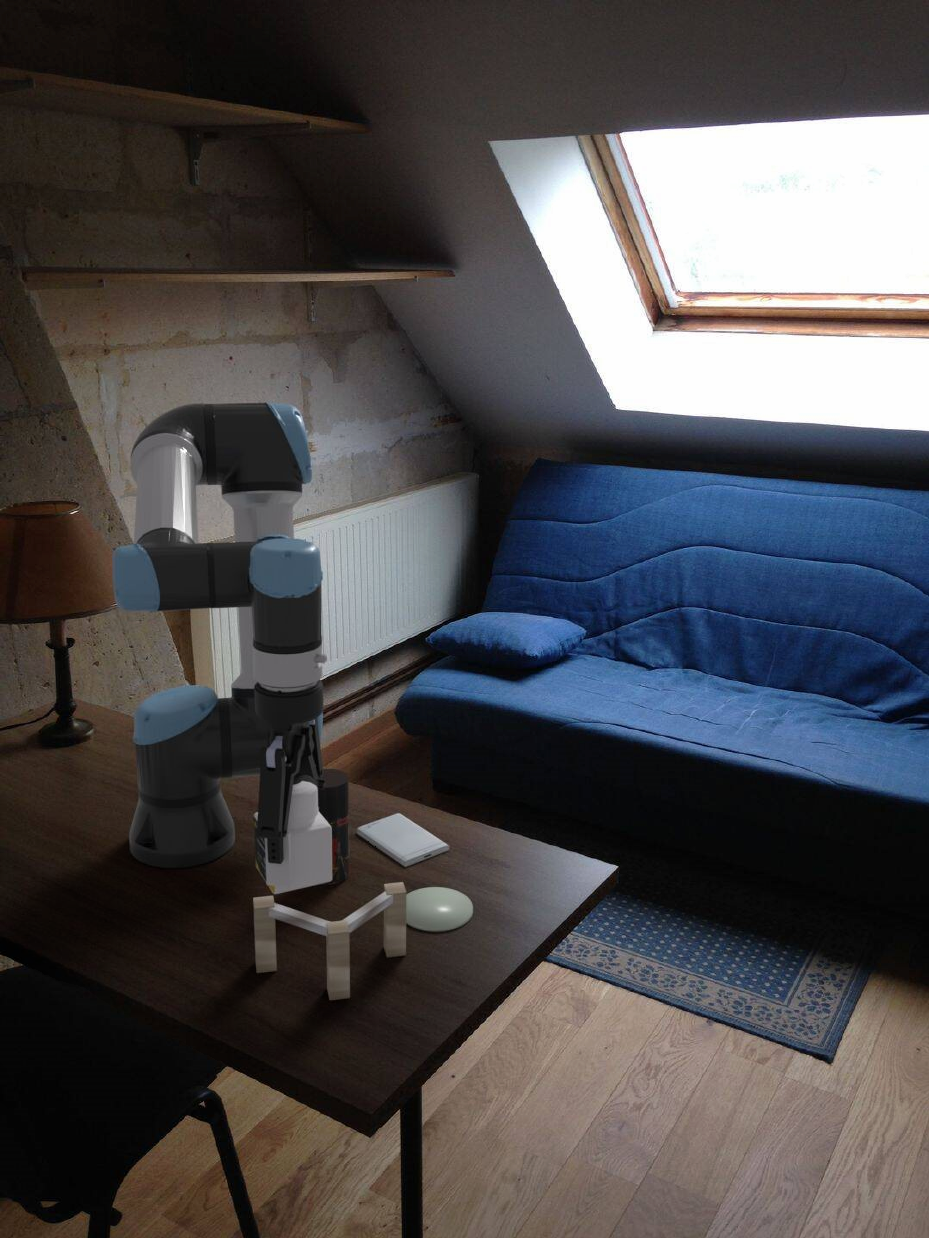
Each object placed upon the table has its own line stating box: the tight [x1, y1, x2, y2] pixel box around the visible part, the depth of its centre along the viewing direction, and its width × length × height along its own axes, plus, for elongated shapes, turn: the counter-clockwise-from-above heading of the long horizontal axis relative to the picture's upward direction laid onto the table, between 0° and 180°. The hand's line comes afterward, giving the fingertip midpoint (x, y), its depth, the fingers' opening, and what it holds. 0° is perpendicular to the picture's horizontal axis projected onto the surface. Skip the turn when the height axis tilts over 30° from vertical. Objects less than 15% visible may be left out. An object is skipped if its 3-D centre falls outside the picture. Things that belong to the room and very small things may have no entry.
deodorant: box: [318, 768, 350, 886], centre depth 153 cm, size 6×6×15 cm
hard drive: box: [356, 812, 450, 868], centre depth 165 cm, size 2×8×12 cm
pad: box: [406, 886, 474, 933], centre depth 147 cm, size 10×10×1 cm
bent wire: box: [252, 881, 407, 1001], centre depth 132 cm, size 9×18×9 cm, turn 103°
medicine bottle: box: [253, 773, 332, 895], centre depth 126 cm, size 7×7×12 cm
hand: (293, 861), depth 127 cm, fingers closed on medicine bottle, 10 cm apart
